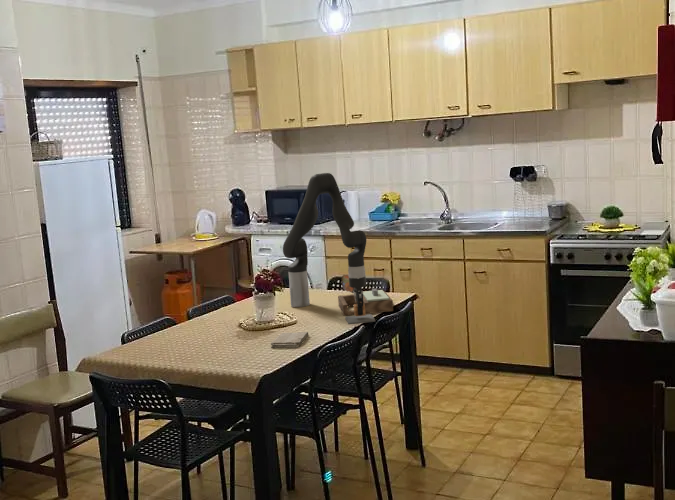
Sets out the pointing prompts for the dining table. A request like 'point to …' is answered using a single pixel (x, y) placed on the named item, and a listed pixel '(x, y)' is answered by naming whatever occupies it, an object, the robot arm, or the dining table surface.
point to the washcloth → (289, 340)
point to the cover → (375, 295)
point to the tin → (346, 283)
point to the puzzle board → (369, 306)
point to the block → (357, 310)
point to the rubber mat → (359, 319)
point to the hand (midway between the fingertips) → (359, 313)
